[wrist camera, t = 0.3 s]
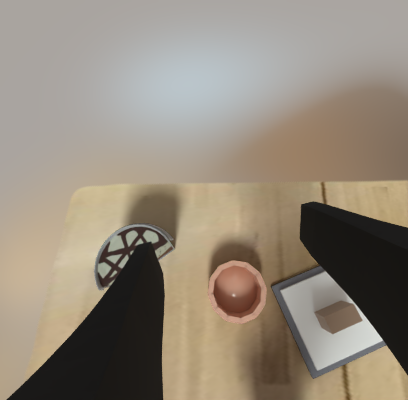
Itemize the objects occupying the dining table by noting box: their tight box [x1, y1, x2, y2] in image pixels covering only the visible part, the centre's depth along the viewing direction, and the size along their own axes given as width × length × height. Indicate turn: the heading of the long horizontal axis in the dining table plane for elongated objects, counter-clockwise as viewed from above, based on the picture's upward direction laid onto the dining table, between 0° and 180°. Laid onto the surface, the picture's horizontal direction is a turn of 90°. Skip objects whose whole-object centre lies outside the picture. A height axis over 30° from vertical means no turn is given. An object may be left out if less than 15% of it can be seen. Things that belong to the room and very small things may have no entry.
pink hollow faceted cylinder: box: [208, 260, 267, 324], centre depth 35 cm, size 9×9×4 cm
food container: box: [94, 223, 175, 290], centre depth 35 cm, size 12×6×10 cm, turn 126°
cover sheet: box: [280, 271, 383, 371], centre depth 33 cm, size 12×12×4 cm
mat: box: [271, 266, 386, 379], centre depth 35 cm, size 14×14×1 cm
